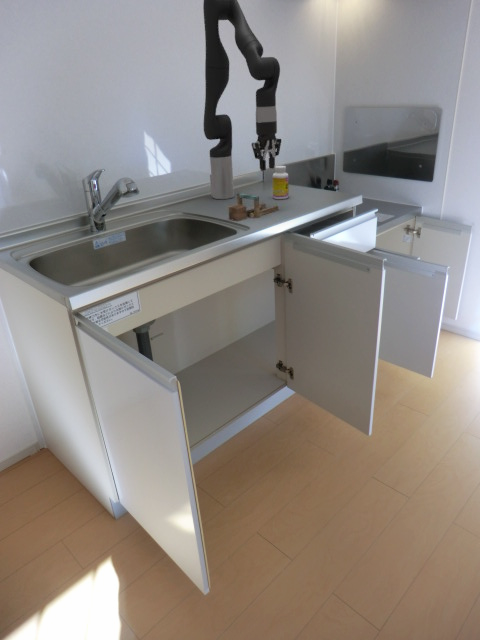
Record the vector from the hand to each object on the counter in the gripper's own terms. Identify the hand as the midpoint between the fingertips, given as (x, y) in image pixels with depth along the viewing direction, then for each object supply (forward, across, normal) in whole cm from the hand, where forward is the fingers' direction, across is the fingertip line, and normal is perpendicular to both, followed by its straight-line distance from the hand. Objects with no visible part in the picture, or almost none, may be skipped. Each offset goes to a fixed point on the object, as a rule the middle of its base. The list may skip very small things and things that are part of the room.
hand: (267, 169), depth 181 cm
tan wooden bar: (+16, +10, 0) cm, 18 cm away
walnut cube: (+15, +16, 0) cm, 22 cm away
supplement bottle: (+15, -17, -9) cm, 25 cm away
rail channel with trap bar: (+15, +6, 0) cm, 16 cm away
